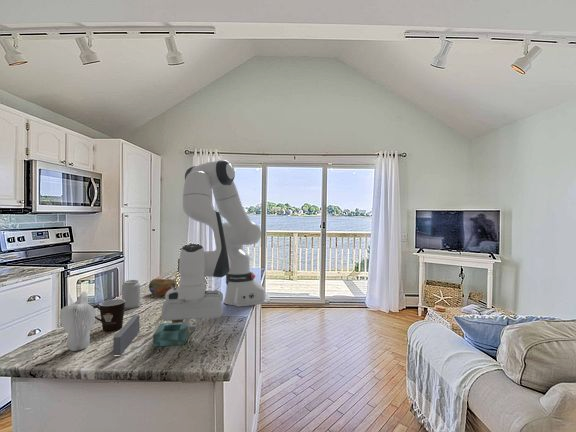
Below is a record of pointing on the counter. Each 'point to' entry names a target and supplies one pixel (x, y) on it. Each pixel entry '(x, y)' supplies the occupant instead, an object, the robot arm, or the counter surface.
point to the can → (131, 293)
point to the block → (170, 334)
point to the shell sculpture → (78, 322)
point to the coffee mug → (111, 314)
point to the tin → (161, 286)
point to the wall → (126, 335)
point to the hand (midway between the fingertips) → (192, 330)
